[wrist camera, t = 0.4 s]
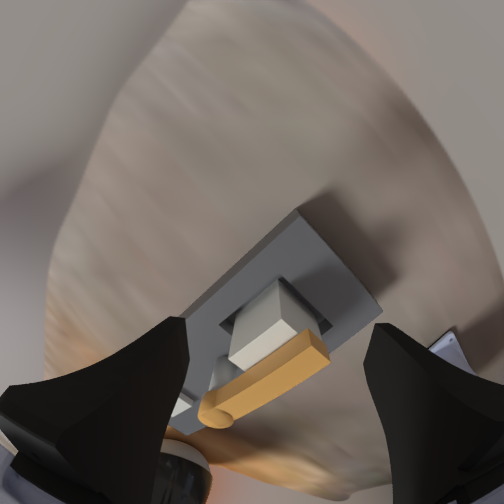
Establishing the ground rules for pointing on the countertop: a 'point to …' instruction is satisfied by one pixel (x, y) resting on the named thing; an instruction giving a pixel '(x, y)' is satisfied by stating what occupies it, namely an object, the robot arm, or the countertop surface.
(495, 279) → the countertop surface
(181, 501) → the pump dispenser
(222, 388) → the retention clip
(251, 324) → the plug
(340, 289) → the grey recessed block
